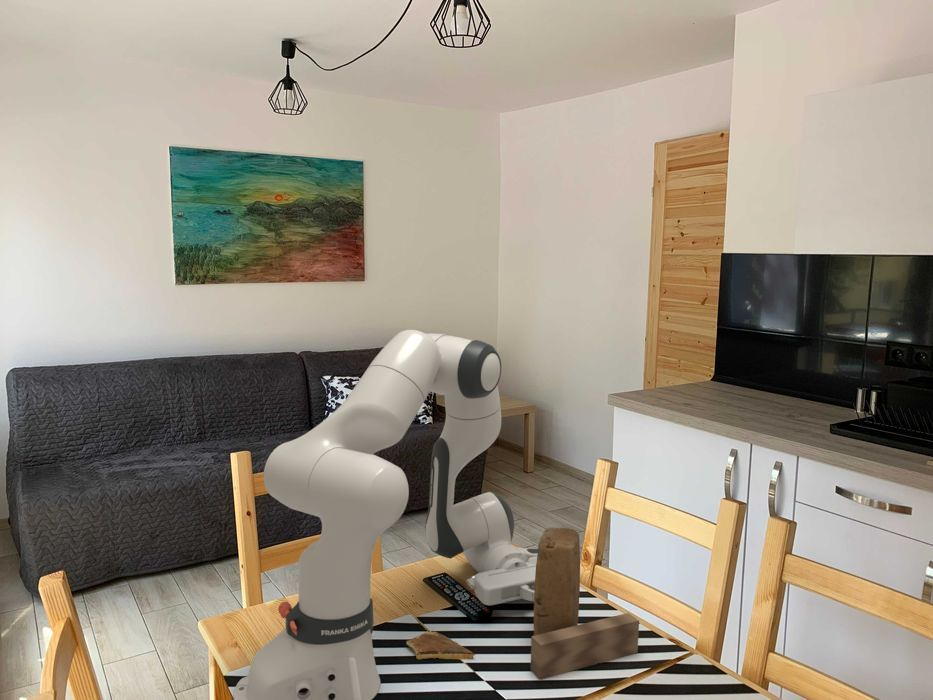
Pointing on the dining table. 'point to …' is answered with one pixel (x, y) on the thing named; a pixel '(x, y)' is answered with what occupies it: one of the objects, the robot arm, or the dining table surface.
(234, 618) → the dining table surface
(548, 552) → the weathered terracotta carving
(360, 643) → the robot arm
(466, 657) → the brown flat angular piece
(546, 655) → the board
